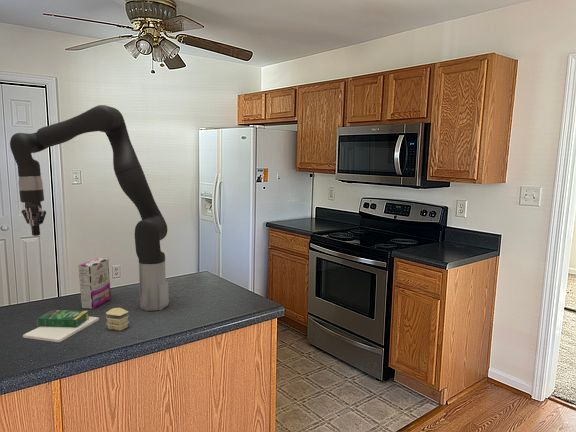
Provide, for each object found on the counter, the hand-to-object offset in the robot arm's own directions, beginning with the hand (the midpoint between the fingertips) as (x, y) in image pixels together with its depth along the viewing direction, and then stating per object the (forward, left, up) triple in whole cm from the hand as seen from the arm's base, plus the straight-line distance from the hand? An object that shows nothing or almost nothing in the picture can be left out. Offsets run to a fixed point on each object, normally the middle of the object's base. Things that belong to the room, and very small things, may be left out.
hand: (36, 235), depth 157 cm
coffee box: (-18, +18, -23) cm, 34 cm away
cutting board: (-26, +19, -25) cm, 41 cm away
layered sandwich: (-42, +13, -26) cm, 51 cm away
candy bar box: (-22, -3, -26) cm, 34 cm away
